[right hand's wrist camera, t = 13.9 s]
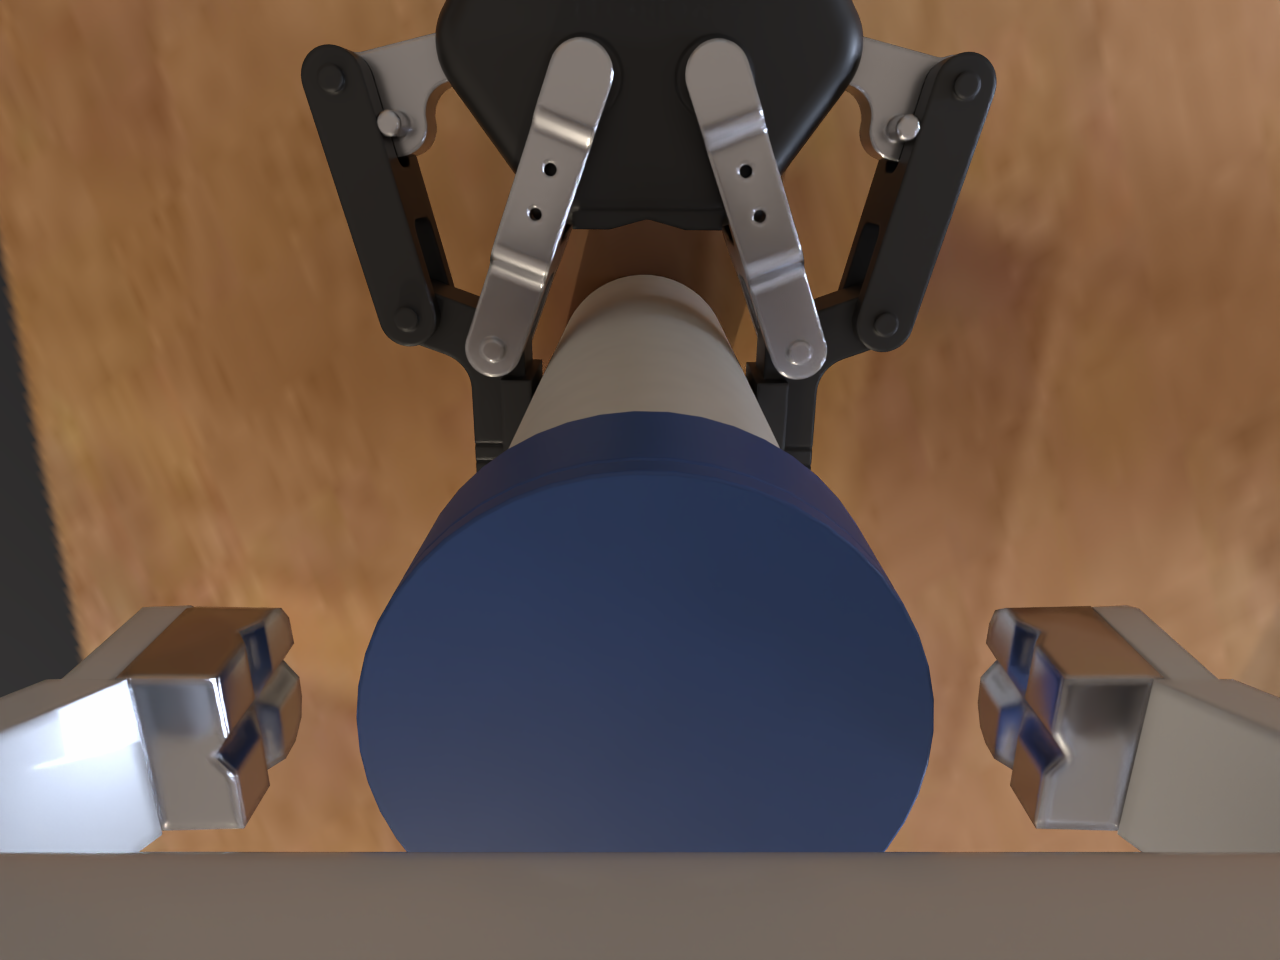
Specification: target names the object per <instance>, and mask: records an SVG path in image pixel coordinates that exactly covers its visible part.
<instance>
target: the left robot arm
mask: <svg viewBox="0 0 1280 960" xmlns="http://www.w3.org/2000/svg"><path fill="white" fill-rule="evenodd" d="M301 80H302V84H303V88H304V91H305V94H306V97H307V100H308V103H309V106H310V109H311V112H312V115H313V119H314V122H315V125H316V128H317V131H318V134H319V137H320V140H321V143H322V146H323V149H324V152H325V155H326V159H327V162H328V165H329V168H330V171H331V174H332V177H333V180H334V183H335V186H336V189H337V192H338V195H339V199H340V202H341V205H342V208H343V211H344V214H345V217H346V220H347V223H348V226H349V229H350V232H351V235H352V239H353V242H354V245H355V248H356V251H357V254H358V257H359V260H360V263H361V266H362V269H363V272H364V275H365V278H366V282H367V285H368V288H369V291H370V294H371V297H372V300H373V303H374V306H375V309H376V312H377V315H378V318H379V322H380V325H381V327H382V329H383V331H384V333H385V334H386V335H387V336H388V337H389V338H390V339H391V340H392V341H394V342H396V343H397V344H400V345H403V346H417V345H421V346H424V347H426V348H429V349H432V350H435V351H437V352H440V353H443V354H446V355H448V356H450V357H452V358H454V359H455V360H457V361H458V362H459V363H460V364H461V365H462V366H463V367H464V368H465V370H466V371H467V373H468V375H469V377H470V380H471V385H472V397H473V415H474V433H475V443H476V446H475V450H476V461H477V463H476V468H477V472H478V471H479V470H480V469H481V468H482V467H484V466H485V465H487V464H488V463H489V462H491V461H492V460H493V459H495V458H496V457H498V456H499V455H500V454H502V453H503V452H505V451H506V450H507V449H509V447H510V444H511V442H512V440H513V438H514V436H515V434H516V432H517V430H518V428H519V425H520V423H521V421H522V419H523V417H524V415H525V413H526V411H527V409H528V406H529V404H530V402H531V400H532V398H533V396H534V394H535V392H536V389H537V387H538V385H539V383H540V381H541V379H542V377H543V375H542V360H537V359H532V339H533V337H534V334H535V331H536V328H537V325H538V322H539V319H540V316H541V314H542V311H543V308H544V305H545V302H546V299H547V296H548V293H549V290H550V288H551V285H552V282H553V279H554V276H555V273H556V271H557V268H558V266H559V264H560V261H561V258H562V256H563V253H564V250H565V247H566V245H567V242H568V239H569V236H570V233H571V230H572V229H612V228H616V227H620V226H623V225H627V224H631V223H634V222H638V221H642V220H653V221H656V222H660V223H663V224H667V225H670V226H673V227H677V228H680V229H684V230H722V233H723V236H724V239H725V242H726V245H727V248H728V252H729V254H730V257H731V260H732V263H733V266H734V268H735V270H736V273H737V276H738V279H739V282H740V285H741V288H742V291H743V294H744V297H745V300H746V303H747V306H748V309H749V313H750V316H751V319H752V322H753V325H754V328H755V331H756V334H757V337H758V338H757V357H756V362H747V364H746V379H747V381H748V383H749V385H750V387H751V389H752V391H753V393H754V395H755V397H756V400H757V402H758V404H759V406H760V408H761V410H762V412H763V414H764V416H765V418H766V420H767V422H768V424H769V427H770V429H771V431H772V433H773V435H774V437H775V439H776V441H777V443H778V445H779V447H780V449H782V450H783V451H785V452H787V453H788V454H790V455H792V456H793V457H794V458H796V459H797V460H798V461H799V462H800V463H802V464H803V465H804V466H805V467H807V468H808V469H809V470H810V471H811V466H810V465H811V458H812V445H813V432H814V419H815V406H816V393H817V387H818V383H819V381H820V379H821V377H822V375H823V374H824V372H825V371H826V370H827V369H828V368H829V367H830V366H831V365H833V364H834V363H836V362H838V361H840V360H842V359H845V358H848V357H851V356H854V355H857V354H860V353H863V352H865V351H868V350H873V351H877V352H888V351H892V350H894V349H896V348H898V347H900V346H901V345H902V344H903V343H904V342H905V341H906V340H907V339H908V337H909V336H910V334H911V331H912V329H913V326H914V323H915V320H916V317H917V314H918V312H919V309H920V306H921V303H922V300H923V297H924V294H925V291H926V289H927V286H928V283H929V280H930V277H931V274H932V271H933V268H934V266H935V263H936V260H937V257H938V254H939V251H940V248H941V246H942V243H943V240H944V237H945V234H946V231H947V228H948V225H949V223H950V220H951V217H952V214H953V211H954V208H955V205H956V203H957V200H958V197H959V194H960V191H961V188H962V185H963V182H964V180H965V177H966V174H967V171H968V168H969V165H970V162H971V160H972V157H973V154H974V151H975V148H976V145H977V142H978V139H979V137H980V134H981V131H982V128H983V125H984V122H985V119H986V117H987V114H988V111H989V108H990V105H991V102H992V99H993V96H994V94H995V90H996V73H995V70H994V68H993V66H992V64H991V63H990V61H989V60H988V59H987V58H985V57H984V56H983V55H981V54H978V53H975V52H963V53H960V54H957V55H950V56H947V57H942V58H940V57H935V56H932V55H928V54H924V53H921V52H917V51H913V50H910V49H906V48H902V47H899V46H895V45H892V44H888V43H884V42H881V41H877V40H873V39H870V38H866V37H863V31H862V25H861V21H860V18H859V15H858V13H857V11H856V9H855V7H854V4H853V2H852V0H446V2H445V4H444V6H443V8H442V10H441V12H440V15H439V18H438V21H437V26H436V33H433V34H429V35H425V36H421V37H418V38H414V39H410V40H406V41H402V42H398V43H394V44H390V45H386V46H382V47H379V48H375V49H371V50H367V51H363V52H352V51H350V50H347V49H345V48H342V47H339V46H336V45H330V44H328V45H321V46H318V47H316V48H314V49H313V50H312V51H310V52H309V54H308V55H307V56H306V58H305V59H304V62H303V64H302V69H301ZM451 87H453V88H454V90H455V91H456V92H457V94H458V95H459V97H460V98H461V99H462V101H463V102H464V104H465V105H466V106H467V108H468V109H469V110H470V112H471V113H472V115H473V116H474V117H475V119H476V120H477V122H478V123H479V124H480V126H481V127H482V129H483V130H484V131H485V133H486V134H487V136H488V137H489V138H490V140H491V141H492V142H493V144H494V145H495V147H496V148H497V149H498V151H499V152H500V154H501V155H502V156H503V158H504V159H505V161H506V162H507V163H508V165H509V166H510V168H511V169H512V170H513V172H514V173H515V179H514V182H513V185H512V188H511V191H510V194H509V197H508V201H507V204H506V207H505V210H504V213H503V216H502V219H501V223H500V226H499V229H498V232H497V235H496V238H495V241H494V245H493V248H492V252H491V257H490V266H489V270H488V273H487V276H486V280H485V283H484V286H483V289H482V292H481V295H480V297H479V296H477V295H474V294H471V293H469V292H466V291H463V290H461V289H458V288H455V287H454V283H453V280H452V277H451V273H450V270H449V266H448V263H447V260H446V256H445V253H444V249H443V246H442V242H441V239H440V236H439V232H438V229H437V225H436V222H435V219H434V215H433V212H432V208H431V205H430V201H429V198H428V195H427V191H426V188H425V184H424V181H423V177H422V174H421V171H420V167H419V164H418V160H417V157H416V156H417V155H420V154H422V153H424V152H426V151H427V150H428V149H429V148H430V147H431V146H432V144H433V142H434V140H435V137H436V132H437V126H436V119H435V110H436V105H437V102H438V100H439V98H440V97H441V95H442V94H443V93H444V92H445V91H446V90H447V89H449V88H451ZM844 91H847V92H849V93H850V94H851V95H852V96H853V97H854V98H855V99H856V101H857V102H858V104H859V107H860V110H861V125H860V141H861V144H862V146H863V148H864V150H865V151H866V152H867V153H868V154H869V155H870V156H872V157H873V158H875V159H878V160H879V162H878V165H877V168H876V171H875V175H874V178H873V181H872V184H871V187H870V190H869V194H868V197H867V200H866V203H865V206H864V209H863V213H862V216H861V219H860V222H859V225H858V228H857V232H856V235H855V238H854V241H853V244H852V247H851V251H850V254H849V257H848V260H847V263H846V266H845V270H844V273H843V276H842V279H841V282H840V286H839V289H838V291H836V292H833V293H830V294H827V295H824V296H822V297H819V298H816V299H813V297H812V293H811V290H810V287H809V283H808V280H807V277H806V273H805V269H804V257H803V252H802V248H801V245H800V241H799V238H798V234H797V231H796V228H795V224H794V221H793V218H792V214H791V211H790V207H789V204H788V201H787V197H786V194H785V190H784V187H783V184H782V180H781V177H780V176H781V175H782V174H783V172H784V171H785V170H786V168H787V167H788V166H789V164H790V163H791V162H792V160H793V159H794V158H795V156H796V155H797V154H798V152H799V151H800V150H801V148H802V147H803V146H804V144H805V143H806V142H807V140H808V139H809V138H810V136H811V135H812V134H813V132H814V131H815V130H816V128H817V127H818V126H819V124H820V123H821V122H822V120H823V119H824V118H825V116H826V115H827V114H828V112H829V111H830V110H831V108H832V107H833V106H834V104H835V103H836V102H837V100H838V99H839V98H840V96H841V95H842V94H843V92H844Z"/></svg>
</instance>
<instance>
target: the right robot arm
mask: <svg viewBox="0 0 1280 960" xmlns="http://www.w3.org/2000/svg"><path fill="white" fill-rule="evenodd" d="M293 644H294V641H293V636H292V630H291V625H290V620H289V617H288V616H287V614H286V613H285V612H284V611H283V610H282V608H251V607H193V606H191V605H187V606H157V607H143V608H142V609H140V610H139V611H138V612H137V613H136V614H135V615H134V616H133V617H131V618H130V619H129V620H128V621H127V622H126V623H125V624H124V625H122V626H121V627H120V628H119V629H118V630H117V631H116V632H115V633H113V634H112V635H111V636H110V637H109V638H108V639H107V640H105V641H104V642H103V643H102V644H101V645H100V646H99V647H98V648H96V649H95V650H94V651H93V652H92V653H91V654H90V655H89V656H87V657H86V658H85V659H84V660H83V661H82V662H81V663H79V664H78V665H77V666H76V667H75V668H74V669H73V670H72V671H71V672H69V673H68V674H67V675H66V676H65V677H64V678H63V679H49V680H44V681H42V682H39V683H37V684H34V685H32V686H29V687H26V688H24V689H21V690H19V691H16V692H14V693H11V694H9V695H6V696H3V697H1V698H0V960H1280V698H1279V697H1276V696H1274V695H1271V694H1269V693H1266V692H1264V691H1261V690H1259V689H1256V688H1254V687H1251V686H1248V685H1246V684H1243V683H1241V682H1238V681H1236V680H1232V679H1218V678H1216V677H1215V676H1214V675H1213V674H1212V673H1211V672H1210V671H1208V670H1207V669H1206V668H1205V667H1204V666H1203V665H1202V664H1201V663H1199V662H1198V661H1197V660H1196V659H1195V658H1194V657H1193V656H1192V655H1190V654H1189V653H1188V652H1187V651H1186V650H1185V649H1184V648H1183V647H1181V646H1180V645H1179V644H1178V643H1177V642H1176V641H1175V640H1174V639H1172V638H1171V637H1170V636H1169V635H1168V634H1167V633H1166V632H1165V631H1163V630H1162V629H1161V628H1160V627H1159V626H1158V625H1157V624H1156V623H1154V622H1153V621H1152V620H1151V619H1150V618H1149V617H1148V616H1147V615H1145V614H1144V613H1143V612H1142V611H1141V610H1140V609H1139V608H1135V607H1131V606H1128V605H1122V606H1100V607H1091V606H1073V607H1031V608H1004V609H999V610H995V612H994V614H993V616H992V619H991V621H990V623H989V629H988V634H987V640H986V644H987V645H988V647H989V649H990V650H991V652H992V653H993V655H994V656H995V658H996V659H997V660H996V661H995V663H994V664H993V665H992V666H991V667H990V668H989V669H988V670H987V671H986V672H985V673H984V674H983V675H982V676H981V679H980V688H979V696H978V710H979V720H980V728H981V731H982V734H983V737H984V740H985V743H986V745H987V747H988V748H989V750H990V752H991V754H992V756H993V757H994V759H996V760H998V761H999V762H1001V763H1002V764H1004V765H1006V766H1007V767H1009V768H1011V769H1012V770H1013V771H1012V777H1011V783H1010V786H1011V788H1012V789H1013V791H1014V793H1015V794H1016V796H1017V798H1018V799H1019V801H1020V803H1021V804H1022V806H1023V808H1024V809H1025V811H1026V813H1027V814H1028V816H1029V818H1030V819H1031V821H1032V823H1033V824H1034V826H1035V828H1042V829H1079V830H1116V831H1118V835H1120V836H1121V837H1122V838H1124V839H1125V840H1126V841H1128V842H1129V843H1130V844H1132V845H1133V846H1135V847H1136V848H1137V849H1139V850H1140V851H1141V852H139V851H140V850H142V849H143V848H144V847H146V846H147V845H149V844H150V843H151V842H153V841H154V840H155V839H157V838H158V837H159V836H161V835H162V831H164V830H200V829H236V828H245V826H246V824H247V823H248V821H249V819H250V818H251V816H252V814H253V813H254V811H255V809H256V808H257V806H258V804H259V803H260V801H261V799H262V798H263V796H264V794H265V793H266V791H267V789H268V788H269V786H270V783H269V777H268V771H267V770H268V769H269V768H271V767H273V766H274V765H276V764H278V763H279V762H281V761H282V760H284V759H286V757H287V755H288V754H289V752H290V750H291V748H292V746H293V745H294V743H295V741H296V737H297V733H298V729H299V725H300V721H301V715H302V693H301V686H300V679H299V676H298V675H297V674H296V673H295V672H294V671H293V670H292V669H291V668H290V667H289V666H288V665H287V664H286V663H285V661H284V660H283V659H284V658H285V656H286V655H287V653H288V652H289V650H290V649H291V647H292V645H293Z"/></svg>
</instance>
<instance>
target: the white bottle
mask: <svg viewBox="0 0 1280 960" xmlns="http://www.w3.org/2000/svg"><path fill="white" fill-rule="evenodd" d="M630 411H653V412H673V413H679V414H686V415H692V416H699V417H704V418H707V419H711V420H714V421H718V422H721V423H725V424H728V425H732V426H735V427H737V428H740V429H742V430H744V431H747V432H749V433H751V434H753V435H756V436H758V437H760V438H763V439H765V440H767V441H768V442H770V443H772V444H773V445H775V446H777V447H778V448H780V447H779V445H778V443H777V441H776V439H775V437H774V435H773V433H772V431H771V429H770V427H769V424H768V422H767V420H766V418H765V416H764V414H763V412H762V410H761V408H760V406H759V404H758V402H757V400H756V397H755V395H754V393H753V391H752V389H751V387H750V385H749V383H748V381H747V379H746V377H745V375H744V373H743V370H742V368H741V366H740V364H739V362H738V360H737V358H736V356H735V354H734V352H733V350H732V348H731V346H730V343H729V341H728V339H727V337H726V335H725V333H724V331H723V329H722V327H721V325H720V323H719V321H718V319H717V317H716V315H715V314H714V312H713V311H712V309H711V308H710V306H709V305H708V304H707V303H706V302H705V301H704V300H703V299H702V298H701V297H700V296H699V295H698V294H697V293H695V292H694V291H693V290H691V289H690V288H688V287H687V286H685V285H683V284H681V283H679V282H677V281H674V280H672V279H668V278H665V277H661V276H654V275H634V276H627V277H623V278H619V279H616V280H614V281H611V282H609V283H607V284H605V285H603V286H601V287H599V288H598V289H596V290H595V291H594V292H592V293H591V294H590V295H589V296H588V297H587V298H586V299H584V300H583V301H582V302H581V304H580V305H579V306H578V308H577V309H576V310H575V311H574V313H573V315H572V317H571V318H570V320H569V322H568V324H567V326H566V328H565V330H564V332H563V335H562V337H561V339H560V341H559V343H558V345H557V347H556V349H555V351H554V354H553V356H552V358H551V360H550V362H549V364H548V366H547V368H546V370H545V373H544V375H543V377H542V379H541V381H540V383H539V385H538V387H537V389H536V392H535V394H534V396H533V398H532V400H531V402H530V404H529V406H528V409H527V411H526V413H525V415H524V417H523V419H522V421H521V423H520V425H519V428H518V430H517V432H516V434H515V436H514V438H513V440H512V442H511V444H510V447H509V448H511V447H513V446H515V445H517V444H518V443H520V442H522V441H524V440H526V439H528V438H530V437H532V436H533V435H535V434H538V433H540V432H543V431H546V430H548V429H551V428H554V427H556V426H559V425H562V424H564V423H567V422H571V421H575V420H579V419H584V418H588V417H592V416H596V415H601V414H610V413H620V412H630Z"/></svg>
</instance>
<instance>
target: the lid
mask: <svg viewBox="0 0 1280 960" xmlns="http://www.w3.org/2000/svg"><path fill="white" fill-rule="evenodd" d="M933 720H934V698H933V691H932V685H931V678H930V671H929V666H928V663H927V659H926V656H925V653H924V650H923V647H922V644H921V640H920V637H919V634H918V632H917V630H916V628H915V626H914V624H913V622H912V620H911V618H910V616H909V614H908V612H907V610H906V608H905V606H904V604H903V602H902V601H901V599H900V597H899V596H898V594H897V592H896V591H895V589H894V587H893V585H892V584H891V582H890V580H889V579H888V577H887V575H886V574H885V572H884V570H883V569H882V567H881V565H880V563H879V562H878V560H877V558H876V557H875V555H874V553H873V552H872V550H871V548H870V547H869V545H868V543H867V541H866V540H865V538H864V536H863V535H862V533H861V531H860V530H859V528H858V526H857V525H856V523H855V522H854V520H853V519H852V517H851V516H850V514H849V513H848V512H847V510H846V509H845V507H844V506H843V504H842V503H841V501H840V500H839V499H838V498H837V496H836V495H835V494H834V493H833V492H832V491H831V490H830V489H829V488H828V487H827V486H826V485H825V484H824V483H823V482H822V480H821V479H820V478H819V477H818V476H817V475H815V474H814V473H813V472H812V471H810V470H809V469H808V468H807V467H805V466H804V465H803V464H802V463H800V462H799V461H798V460H797V459H796V458H794V457H793V456H792V455H790V454H788V453H787V452H785V451H783V450H782V449H780V448H778V447H777V446H775V445H773V444H772V443H770V442H768V441H767V440H765V439H763V438H760V437H758V436H756V435H753V434H751V433H749V432H747V431H744V430H742V429H740V428H737V427H735V426H732V425H728V424H725V423H721V422H718V421H714V420H711V419H707V418H704V417H699V416H692V415H686V414H679V413H673V412H653V411H630V412H620V413H610V414H601V415H596V416H592V417H588V418H584V419H579V420H575V421H571V422H567V423H564V424H562V425H559V426H556V427H554V428H551V429H548V430H546V431H543V432H540V433H538V434H535V435H533V436H532V437H530V438H528V439H526V440H524V441H522V442H520V443H518V444H517V445H515V446H513V447H511V448H509V449H507V450H506V451H505V452H503V453H502V454H500V455H499V456H498V457H496V458H495V459H493V460H492V461H491V462H489V463H488V464H487V465H485V466H484V467H482V468H481V469H480V470H479V471H478V472H477V473H476V474H475V475H474V476H473V477H472V478H471V479H470V480H469V481H468V482H466V483H465V484H464V485H463V486H462V487H461V488H460V489H459V490H458V492H457V493H456V494H455V495H454V497H453V498H452V499H451V501H450V502H449V503H448V504H447V506H446V507H445V508H444V509H443V511H442V512H441V513H440V515H439V517H438V518H437V520H436V522H435V524H434V525H433V527H432V529H431V530H430V532H429V534H428V536H427V537H426V539H425V541H424V542H423V544H422V546H421V548H420V549H419V551H418V553H417V555H416V556H415V558H414V560H413V561H412V563H411V565H410V567H409V568H408V570H407V572H406V573H405V575H404V577H403V579H402V580H401V582H400V584H399V586H398V587H397V589H396V591H395V592H394V594H393V596H392V598H391V599H390V601H389V603H388V605H387V606H386V608H385V610H384V612H383V613H382V615H381V617H380V619H379V620H378V622H377V625H376V627H375V630H374V632H373V635H372V638H371V640H370V643H369V645H368V648H367V651H366V653H365V657H364V662H363V667H362V671H361V676H360V681H359V685H358V702H357V727H358V737H359V747H360V753H361V757H362V761H363V765H364V769H365V773H366V776H367V780H368V783H369V786H370V788H371V791H372V793H373V795H374V798H375V800H376V802H377V805H378V807H379V810H380V812H381V813H382V815H383V817H384V818H385V820H386V822H387V823H388V825H389V827H390V828H391V830H392V832H393V834H394V835H395V837H396V839H397V840H398V841H399V842H400V844H401V845H402V846H403V847H404V849H405V850H406V851H407V852H884V851H885V850H886V849H887V848H888V846H889V845H890V843H891V842H892V840H893V839H894V837H895V836H896V834H897V833H898V831H899V830H900V828H901V827H902V826H903V824H904V822H905V820H906V818H907V816H908V814H909V812H910V810H911V808H912V806H913V804H914V802H915V800H916V798H917V796H918V794H919V791H920V788H921V784H922V781H923V778H924V775H925V772H926V769H927V766H928V761H929V755H930V749H931V743H932V737H933Z"/></svg>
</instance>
